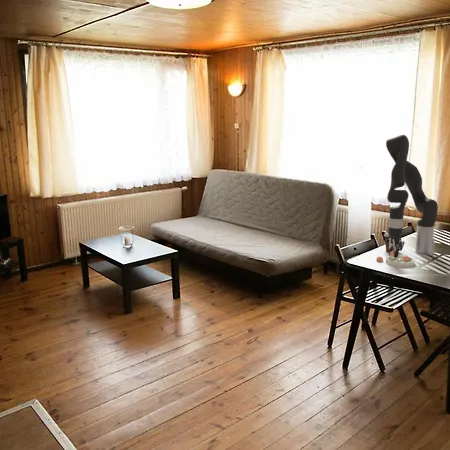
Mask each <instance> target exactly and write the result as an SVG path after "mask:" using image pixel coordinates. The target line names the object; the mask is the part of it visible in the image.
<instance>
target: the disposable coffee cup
mask: <svg viewBox="0 0 450 450" xmlns="http://www.w3.org/2000/svg"><path fill="white" fill-rule="evenodd" d="M383 236H384V243H385V252H386V253H389V247H387V245H386V239H385V237H386V236H389V234H388V231H385V233H384V234H383ZM388 244H389V242H388ZM396 248H397V247H396ZM393 249H394V248H393Z"/></svg>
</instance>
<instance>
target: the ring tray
mask: <svg viewBox="0 0 450 450" xmlns="http://www.w3.org/2000/svg"><path fill="white" fill-rule="evenodd" d="M404 256H405V255H401V254H399V255H398V258H394V257H392V256H390V255H388V256H386V257H385V263H386V264H387V265H389V266H392V267H398V268H410V267H413V266H415V258H413V257H411V256H408V257H409V261H408V262H404V261H403V257H404Z"/></svg>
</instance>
